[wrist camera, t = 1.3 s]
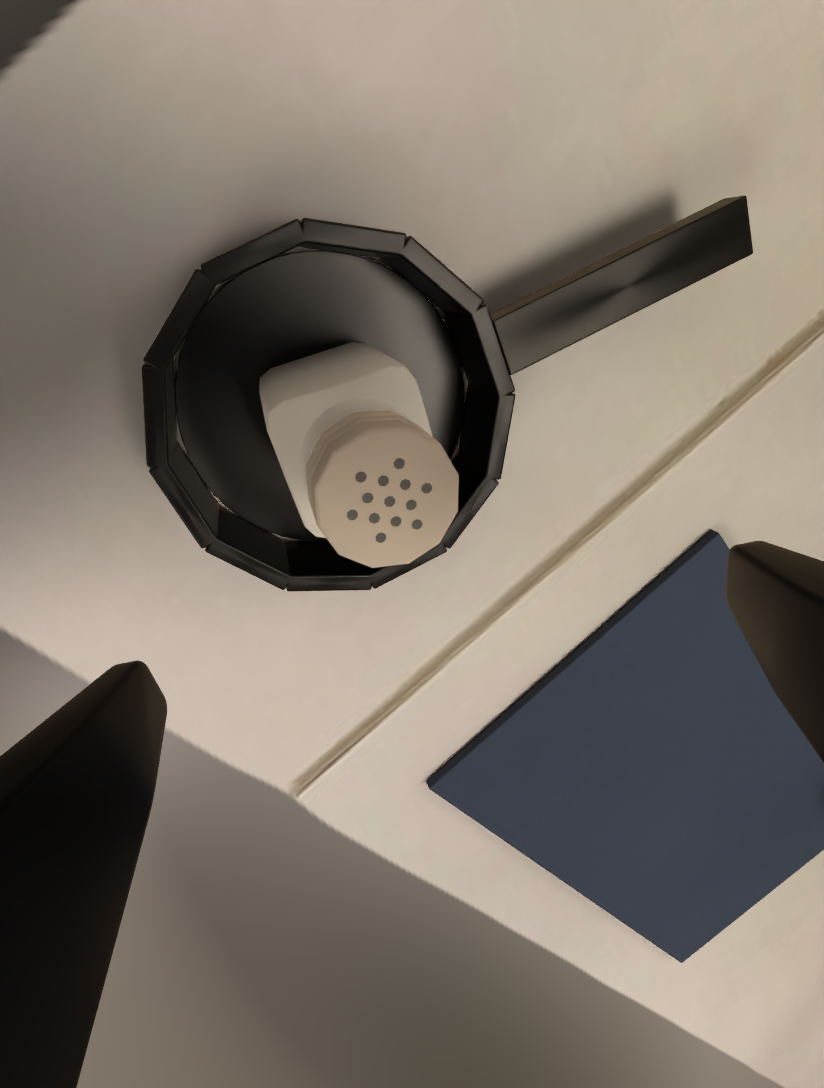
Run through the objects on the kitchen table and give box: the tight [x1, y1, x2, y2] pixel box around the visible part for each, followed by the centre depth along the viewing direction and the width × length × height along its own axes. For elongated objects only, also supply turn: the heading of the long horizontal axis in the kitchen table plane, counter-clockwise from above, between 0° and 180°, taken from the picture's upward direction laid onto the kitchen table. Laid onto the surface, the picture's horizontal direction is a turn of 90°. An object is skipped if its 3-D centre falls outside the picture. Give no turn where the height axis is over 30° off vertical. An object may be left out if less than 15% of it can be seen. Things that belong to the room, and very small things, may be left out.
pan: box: [142, 196, 753, 591], centre depth 20 cm, size 20×11×3 cm, turn 113°
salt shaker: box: [259, 342, 459, 568], centre depth 17 cm, size 4×4×10 cm
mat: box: [427, 530, 824, 963], centre depth 35 cm, size 28×18×1 cm, turn 41°
